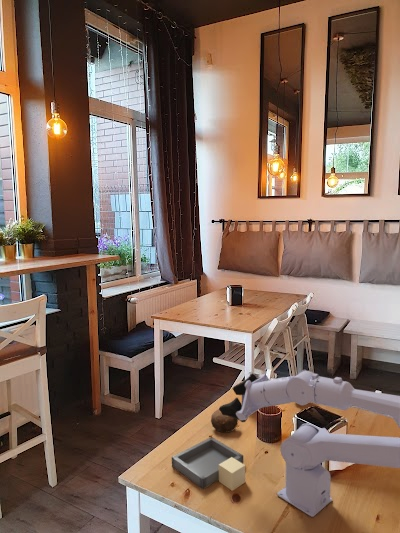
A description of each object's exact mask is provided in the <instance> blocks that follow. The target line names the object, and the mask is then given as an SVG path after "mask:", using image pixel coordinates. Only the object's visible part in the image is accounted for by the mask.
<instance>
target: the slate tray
mask: <svg viewBox="0 0 400 533" xmlns="http://www.w3.org/2000/svg"><path fill="white" fill-rule="evenodd" d="M231 457H233V458H234V459H236V460H238V461H239V462H241V463H242V464H244V455H243V454H241V453H239V452H238V451H236V450H235V449H234V448H231V447H230V446H228V445H226V444H224V443H223V442H221V441H219V440H218V439H216V438H214V437H213V436H211V437H208V438H206V439H204V440H202V441H200V442H199V443H197V444H195V445H193V446H190V447H188V448H187V449H184V450H183V451H181V452H179V453H177V454H174V455H173V456H171V467H173V469H175V470H176V471H178V472H179V473H180V474H182V475H183V476H184V477H186V478H187V479H189V480H190V481H191V482H192V483H193V484H195V485H197V486H198V487H199V488H200V489H202V490H204V489H206V488H207V487H209V486H211V485H212V484H214V483H215V482H218V481H219V464H220V463H222V462H224V461H226V460H227V459H229V458H231Z"/></svg>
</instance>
